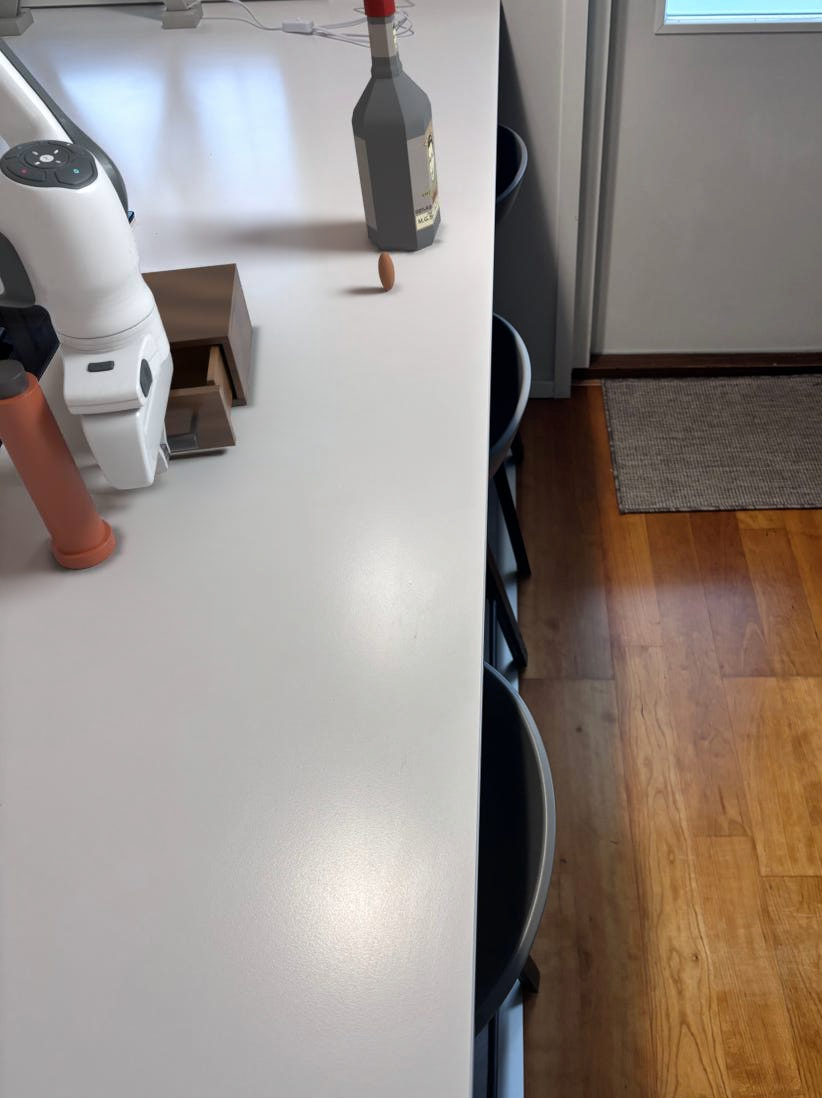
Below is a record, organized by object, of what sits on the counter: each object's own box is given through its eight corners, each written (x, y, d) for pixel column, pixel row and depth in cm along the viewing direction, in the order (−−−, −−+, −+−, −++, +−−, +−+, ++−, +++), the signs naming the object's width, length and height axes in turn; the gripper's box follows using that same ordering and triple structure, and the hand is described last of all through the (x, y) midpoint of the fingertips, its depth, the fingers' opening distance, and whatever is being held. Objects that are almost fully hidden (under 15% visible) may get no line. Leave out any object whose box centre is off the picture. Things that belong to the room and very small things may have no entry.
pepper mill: (51, 572, 94) (-44, 396, 79) (61, 531, 98) (-28, 356, 83) (112, 565, 94) (29, 388, 79) (119, 525, 98) (42, 348, 83)
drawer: (233, 472, 101) (216, 417, 96) (111, 486, 101) (87, 431, 96) (242, 368, 114) (227, 315, 108) (133, 380, 113) (113, 327, 108)
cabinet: (247, 404, 111) (228, 335, 104) (124, 418, 110) (97, 349, 103) (253, 330, 121) (235, 262, 114) (140, 342, 120) (117, 275, 114)
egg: (394, 294, 125) (389, 256, 121) (379, 293, 125) (374, 255, 121) (398, 286, 126) (393, 248, 122) (383, 285, 126) (378, 248, 123)
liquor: (366, 251, 132) (328, -5, 110) (379, 219, 138) (346, -30, 116) (432, 252, 131) (408, -6, 109) (443, 220, 137) (422, -32, 115)
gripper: (96, 285, 94) (141, 406, 104) (59, 411, 81) (115, 535, 91) (163, 278, 94) (201, 399, 105) (136, 403, 81) (183, 528, 91)
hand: (161, 464), depth 98 cm, fingers closed
